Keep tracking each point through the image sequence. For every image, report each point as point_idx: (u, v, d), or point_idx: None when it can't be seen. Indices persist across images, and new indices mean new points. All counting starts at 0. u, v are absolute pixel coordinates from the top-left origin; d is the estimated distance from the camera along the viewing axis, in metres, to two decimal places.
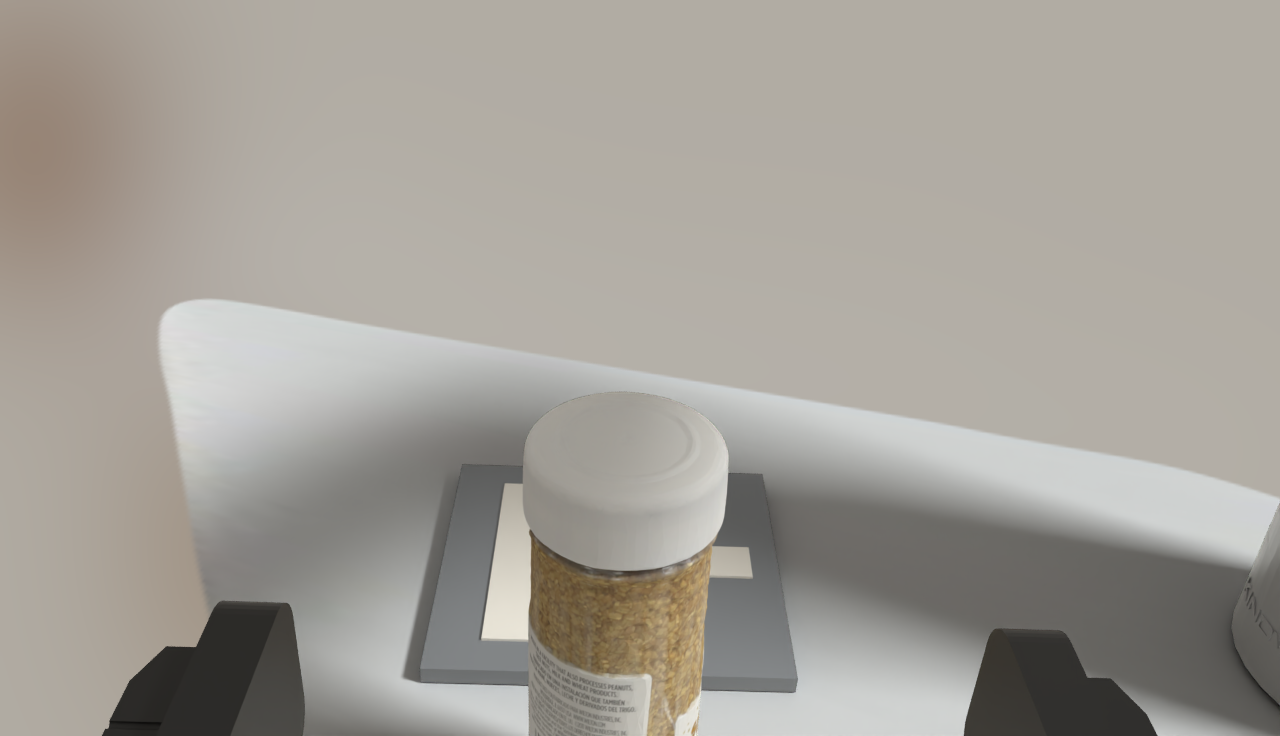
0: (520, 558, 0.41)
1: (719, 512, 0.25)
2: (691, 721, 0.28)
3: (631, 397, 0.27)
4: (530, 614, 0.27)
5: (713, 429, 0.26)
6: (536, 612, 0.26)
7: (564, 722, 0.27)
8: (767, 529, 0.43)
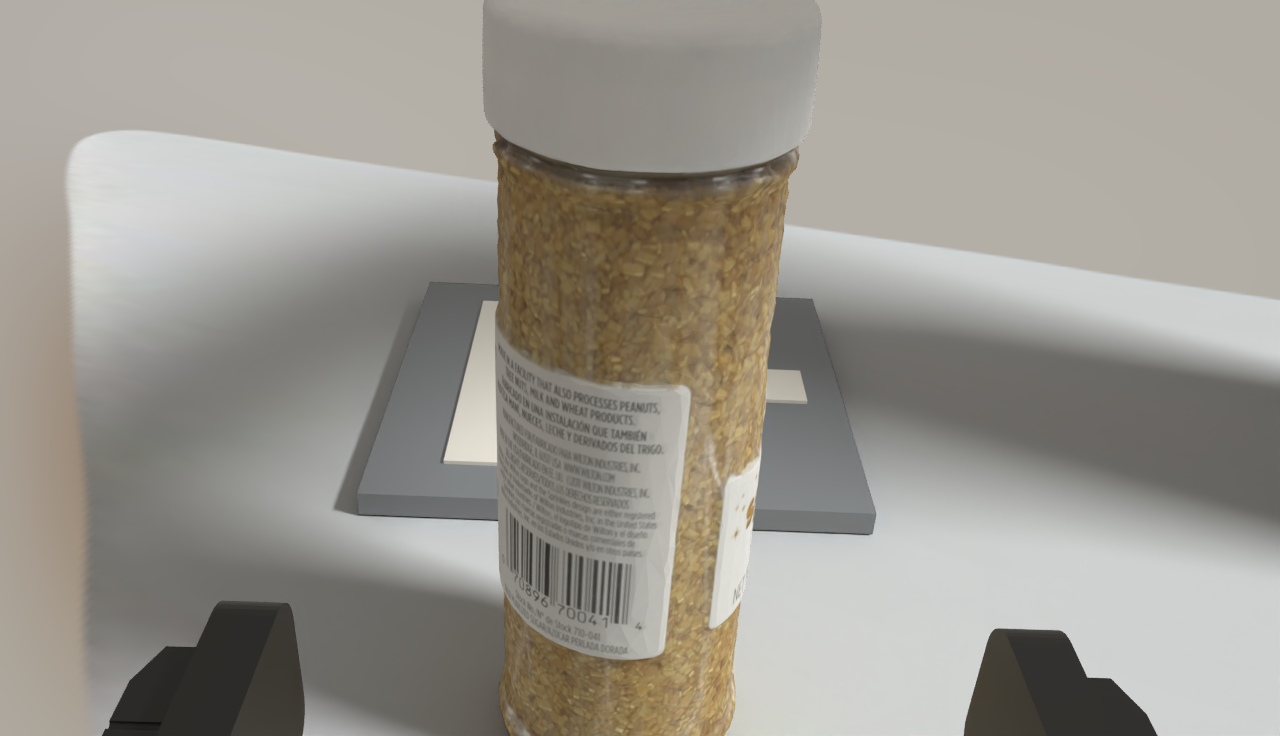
0: None
1: (807, 97, 0.15)
2: (747, 494, 0.18)
3: None
4: (498, 314, 0.17)
5: None
6: (506, 296, 0.17)
7: (550, 482, 0.17)
8: (823, 353, 0.33)
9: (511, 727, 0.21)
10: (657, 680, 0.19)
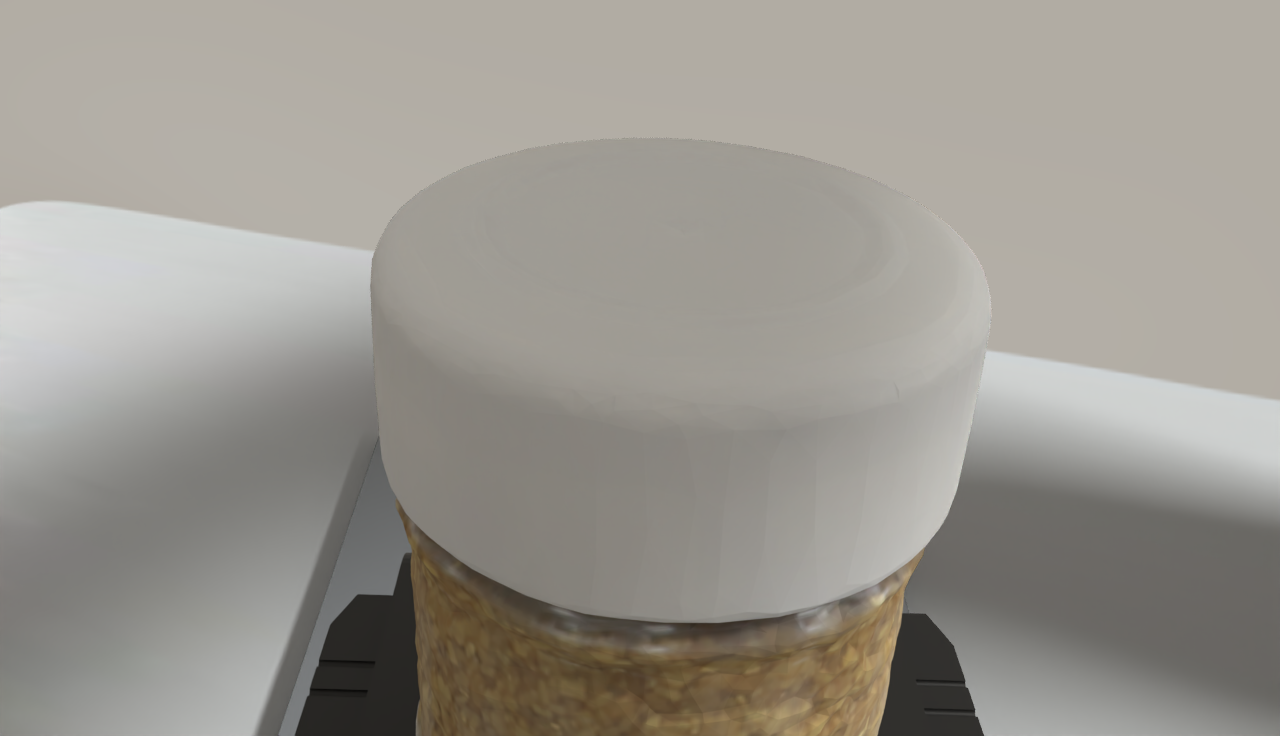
0: None
1: (966, 442, 0.08)
2: None
3: (687, 146, 0.10)
4: (420, 721, 0.10)
5: (927, 211, 0.09)
6: (427, 724, 0.10)
7: None
8: None
9: None
10: None
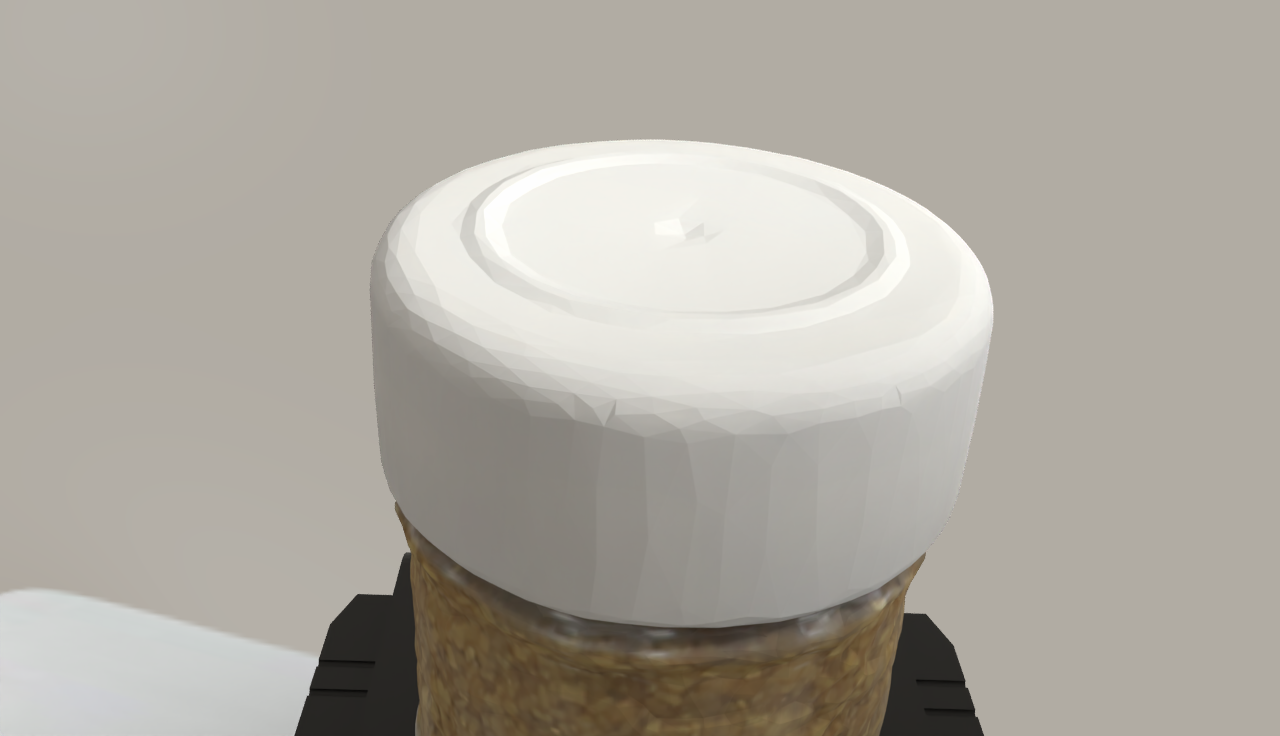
0: None
1: (967, 445, 0.08)
2: None
3: (687, 148, 0.10)
4: (419, 724, 0.10)
5: (928, 213, 0.09)
6: (427, 727, 0.10)
7: None
8: None
9: None
10: None
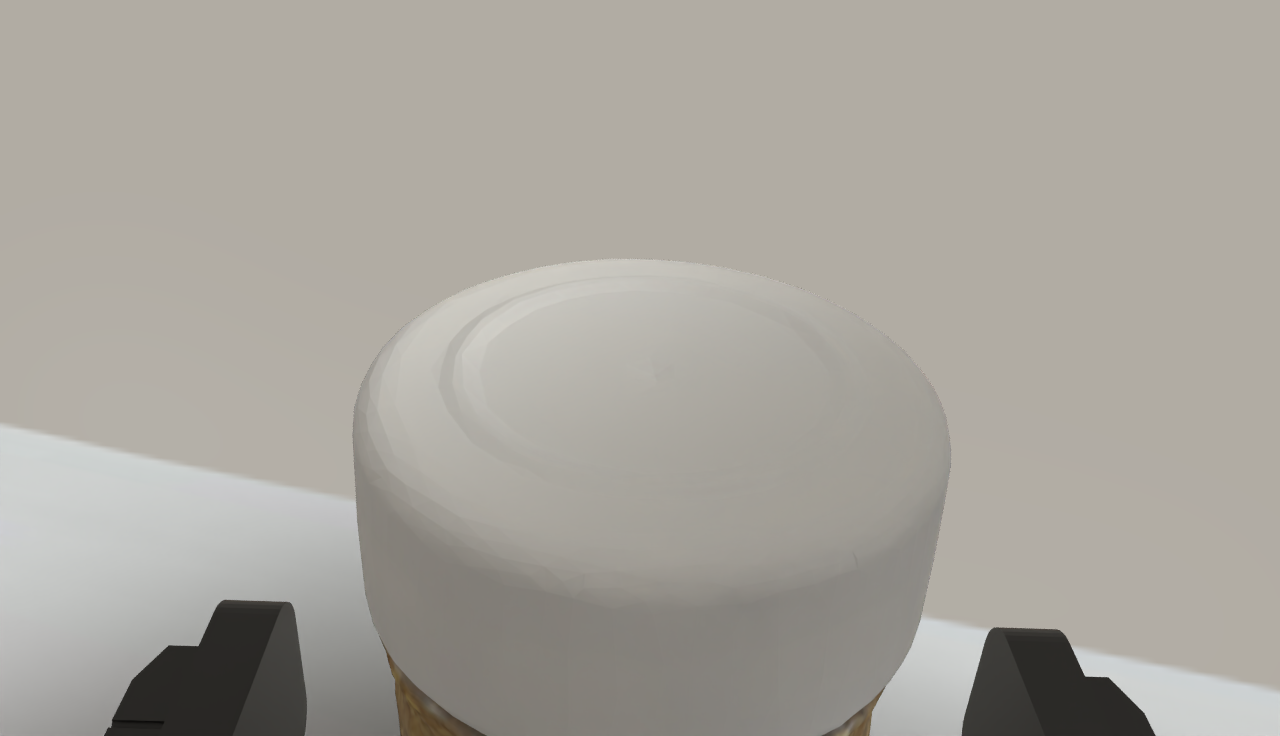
0: None
1: (927, 581, 0.08)
2: None
3: (662, 270, 0.10)
4: None
5: (892, 345, 0.09)
6: None
7: None
8: None
9: None
10: None
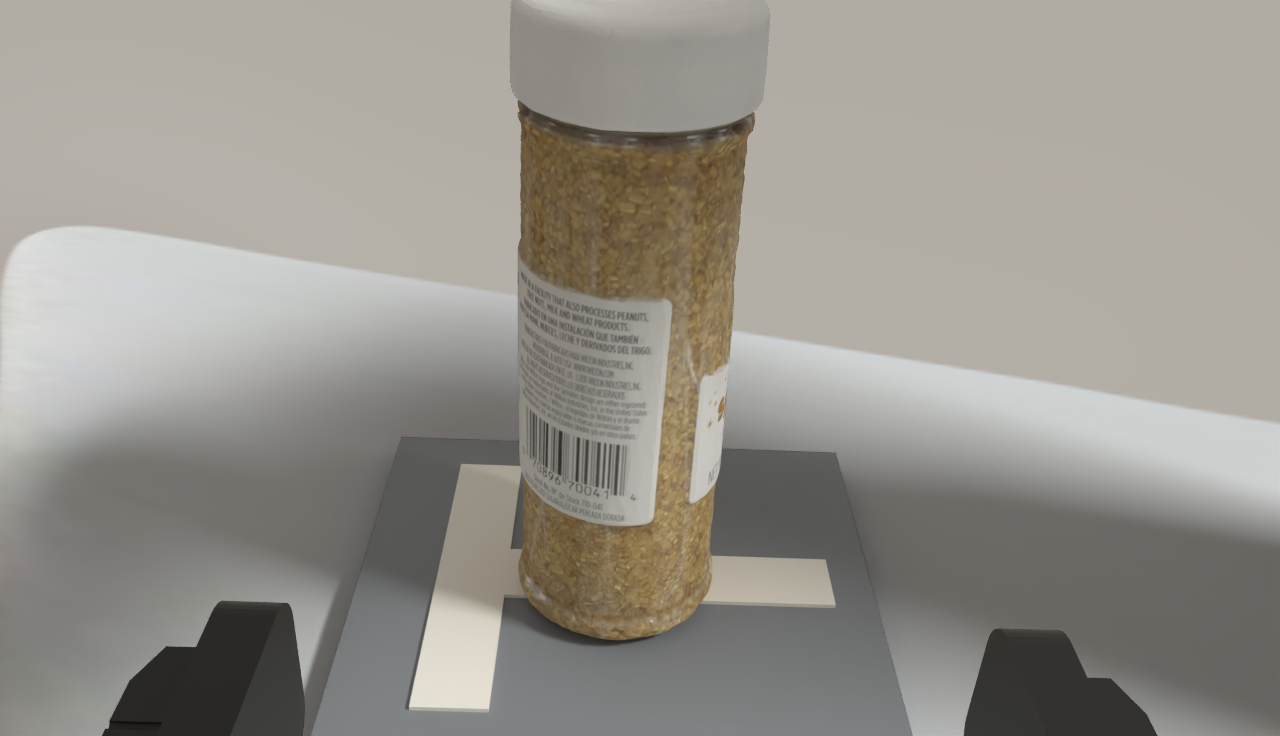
0: (479, 576, 0.27)
1: (759, 75, 0.20)
2: (718, 392, 0.23)
3: None
4: (520, 249, 0.22)
5: None
6: (527, 233, 0.21)
7: (563, 379, 0.22)
8: (851, 532, 0.29)
9: (529, 593, 0.25)
10: (647, 544, 0.23)
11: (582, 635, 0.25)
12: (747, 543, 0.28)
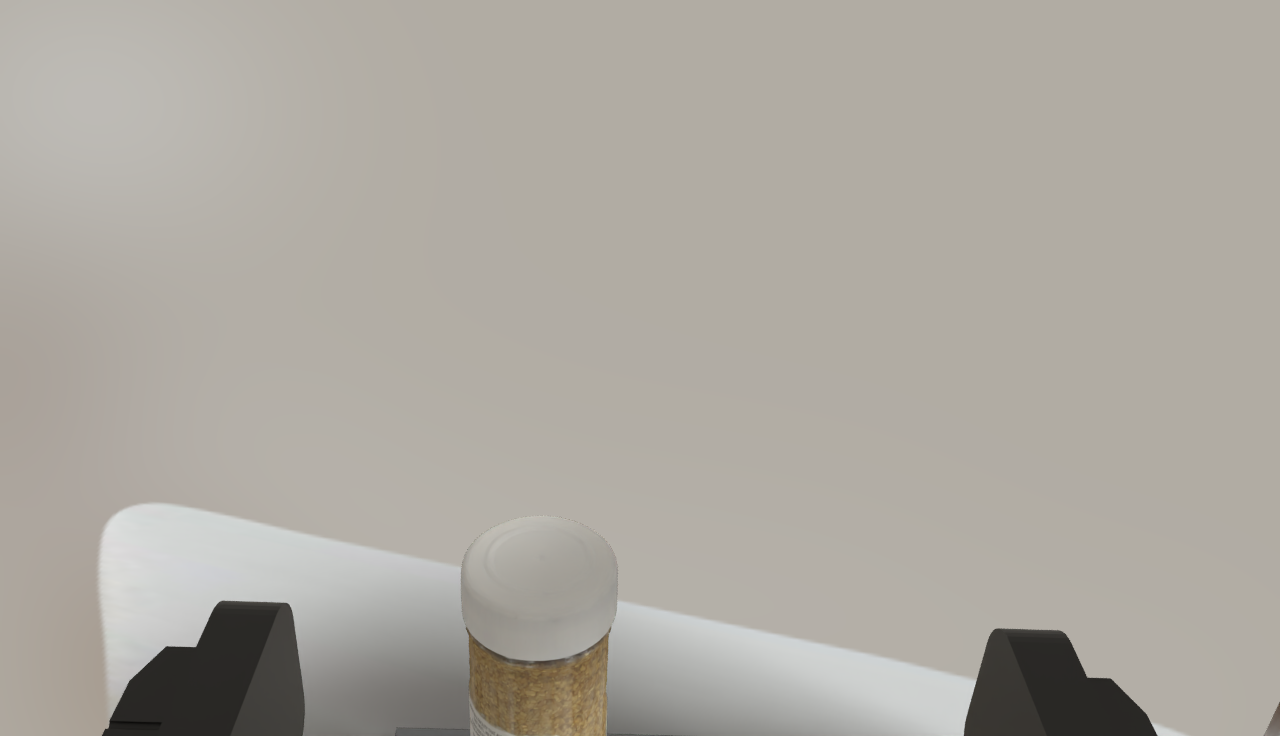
0: None
1: (609, 614, 0.33)
2: None
3: (547, 521, 0.34)
4: (470, 687, 0.35)
5: (607, 549, 0.34)
6: (473, 687, 0.34)
7: None
8: None
9: None
10: None
11: None
12: None
